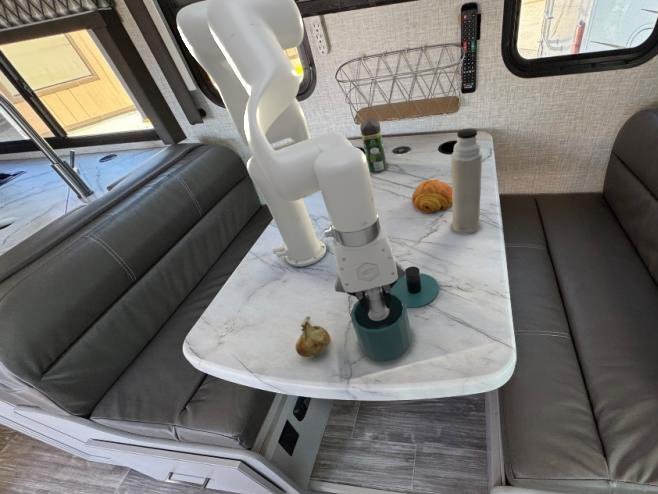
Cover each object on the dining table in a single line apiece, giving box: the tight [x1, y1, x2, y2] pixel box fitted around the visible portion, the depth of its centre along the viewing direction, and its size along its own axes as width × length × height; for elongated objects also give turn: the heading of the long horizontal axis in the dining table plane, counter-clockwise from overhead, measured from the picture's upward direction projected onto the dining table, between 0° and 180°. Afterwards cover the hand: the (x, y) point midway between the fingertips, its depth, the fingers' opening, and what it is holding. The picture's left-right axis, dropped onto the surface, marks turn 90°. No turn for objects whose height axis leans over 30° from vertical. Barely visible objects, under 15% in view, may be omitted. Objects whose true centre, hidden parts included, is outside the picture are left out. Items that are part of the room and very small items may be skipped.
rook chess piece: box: [364, 286, 389, 321], centre depth 66 cm, size 4×4×8 cm
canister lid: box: [391, 266, 440, 309], centre depth 83 cm, size 12×12×7 cm
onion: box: [295, 315, 331, 358], centre depth 74 cm, size 8×8×8 cm
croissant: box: [411, 179, 453, 214], centre depth 114 cm, size 14×16×8 cm
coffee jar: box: [359, 118, 387, 173], centre depth 135 cm, size 10×8×19 cm
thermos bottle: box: [450, 127, 483, 234], centre depth 94 cm, size 8×8×28 cm
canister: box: [350, 290, 412, 363], centre depth 72 cm, size 11×11×10 cm
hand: (376, 305), depth 67 cm, fingers closed on rook chess piece, 3 cm apart
